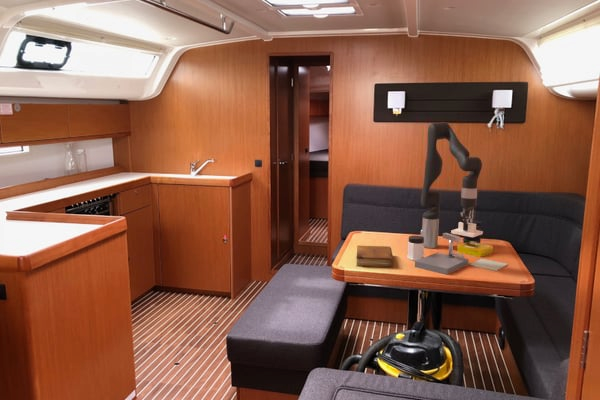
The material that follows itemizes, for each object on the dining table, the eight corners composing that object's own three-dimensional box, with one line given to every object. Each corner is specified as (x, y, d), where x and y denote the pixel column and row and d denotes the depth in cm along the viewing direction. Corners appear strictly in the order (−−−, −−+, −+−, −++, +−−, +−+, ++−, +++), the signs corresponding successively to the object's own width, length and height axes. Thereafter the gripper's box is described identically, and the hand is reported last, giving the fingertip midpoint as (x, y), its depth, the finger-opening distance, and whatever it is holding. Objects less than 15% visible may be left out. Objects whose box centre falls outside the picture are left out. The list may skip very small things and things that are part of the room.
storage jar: (483, 246, 288) (485, 221, 286) (473, 248, 283) (474, 223, 280) (469, 242, 296) (471, 218, 294) (459, 245, 291) (460, 220, 288)
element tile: (455, 252, 277) (456, 244, 276) (469, 248, 286) (470, 240, 285) (479, 258, 265) (480, 249, 265) (493, 253, 275) (494, 245, 274)
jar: (421, 256, 267) (422, 235, 265) (425, 260, 259) (426, 239, 257) (405, 256, 267) (406, 235, 265) (408, 260, 259) (409, 239, 257)
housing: (414, 266, 248) (415, 260, 248) (436, 257, 265) (437, 251, 264) (447, 274, 236) (447, 268, 235) (468, 264, 252) (468, 258, 252)
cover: (451, 233, 248) (451, 222, 247) (460, 230, 254) (461, 220, 253) (473, 237, 239) (473, 226, 238) (482, 234, 246) (483, 223, 245)
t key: (461, 260, 247) (462, 239, 246) (442, 253, 260) (443, 233, 258) (464, 259, 249) (465, 238, 247) (445, 252, 261) (446, 232, 259)
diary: (393, 269, 247) (393, 258, 246) (356, 267, 249) (356, 257, 248) (390, 256, 269) (391, 246, 268) (357, 255, 272) (357, 245, 271)
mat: (469, 265, 251) (469, 264, 251) (481, 259, 261) (481, 258, 261) (496, 271, 241) (496, 269, 241) (507, 265, 251) (507, 263, 251)
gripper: (469, 199, 236) (467, 233, 239) (482, 196, 246) (480, 229, 249) (455, 197, 241) (453, 231, 244) (468, 194, 251) (466, 226, 254)
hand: (467, 229), depth 246 cm, fingers closed on cover, 3 cm apart
